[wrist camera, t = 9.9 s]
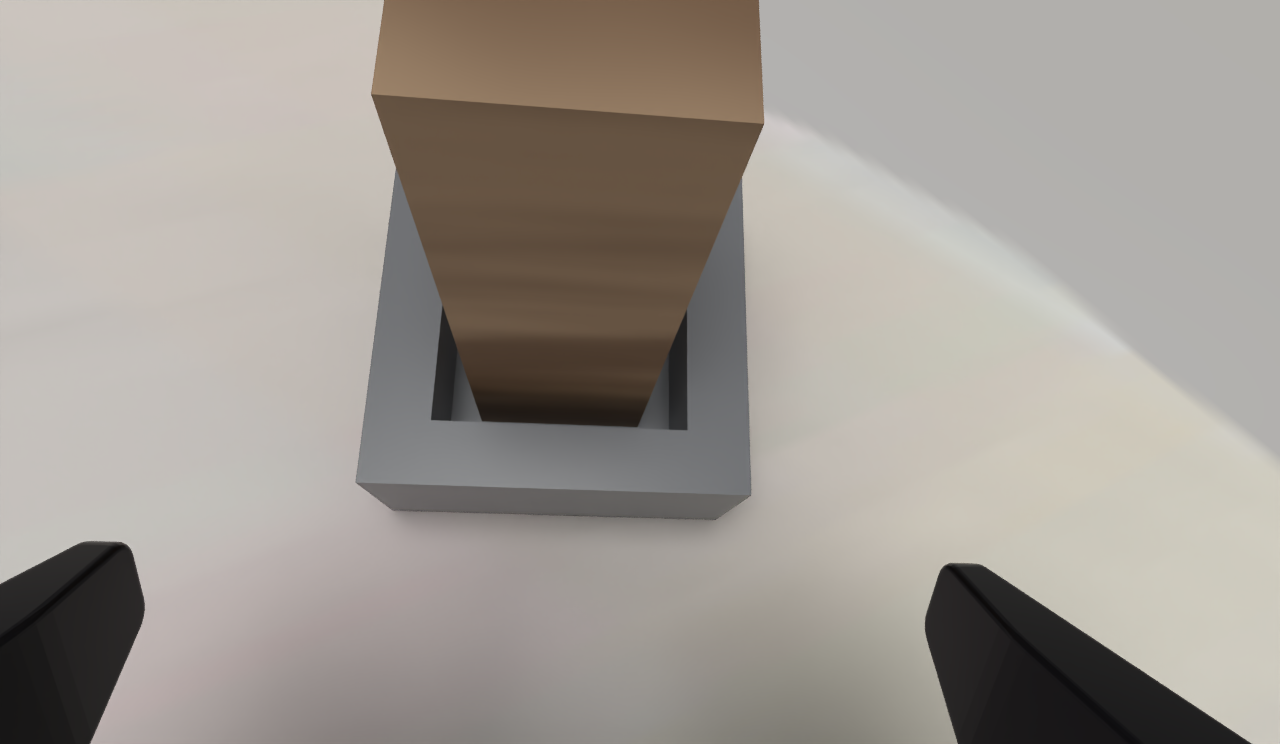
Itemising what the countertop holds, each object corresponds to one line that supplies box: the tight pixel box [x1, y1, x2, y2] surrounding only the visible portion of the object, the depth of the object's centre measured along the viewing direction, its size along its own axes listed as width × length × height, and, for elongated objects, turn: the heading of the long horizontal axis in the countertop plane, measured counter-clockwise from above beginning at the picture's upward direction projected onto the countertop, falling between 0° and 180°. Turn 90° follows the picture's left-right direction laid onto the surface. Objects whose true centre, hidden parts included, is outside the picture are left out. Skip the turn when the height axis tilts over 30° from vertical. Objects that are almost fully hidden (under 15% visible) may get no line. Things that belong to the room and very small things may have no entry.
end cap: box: [356, 169, 751, 520], centre depth 20 cm, size 8×8×4 cm
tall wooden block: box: [371, 0, 764, 427], centre depth 15 cm, size 4×4×13 cm
